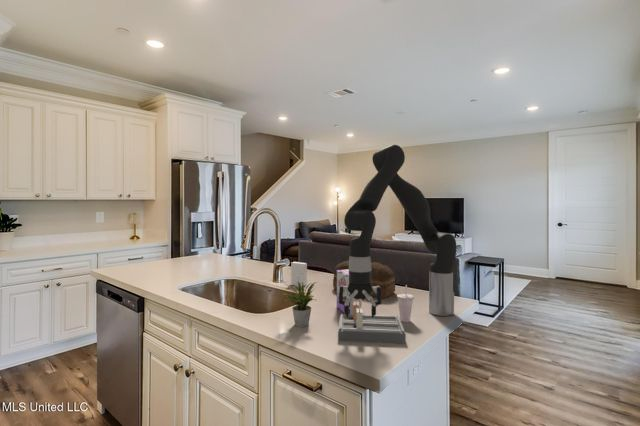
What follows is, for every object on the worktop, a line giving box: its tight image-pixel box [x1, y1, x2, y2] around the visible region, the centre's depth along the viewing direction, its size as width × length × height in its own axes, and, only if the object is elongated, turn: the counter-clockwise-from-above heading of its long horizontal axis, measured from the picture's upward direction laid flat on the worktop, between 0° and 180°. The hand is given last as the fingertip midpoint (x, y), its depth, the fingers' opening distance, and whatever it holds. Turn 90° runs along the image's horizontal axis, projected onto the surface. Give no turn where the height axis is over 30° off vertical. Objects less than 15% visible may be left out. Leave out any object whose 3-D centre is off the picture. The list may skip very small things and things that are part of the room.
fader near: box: [356, 308, 364, 329], centre depth 119 cm, size 2×4×6 cm, turn 175°
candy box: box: [336, 269, 363, 314], centre depth 146 cm, size 14×6×16 cm, turn 19°
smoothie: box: [396, 284, 415, 323], centre depth 135 cm, size 6×6×14 cm
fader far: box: [353, 301, 359, 320], centre depth 127 cm, size 2×4×6 cm, turn 175°
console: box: [337, 313, 407, 344], centre depth 123 cm, size 22×16×4 cm
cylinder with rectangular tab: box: [290, 261, 308, 287], centre depth 193 cm, size 9×9×12 cm
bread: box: [332, 260, 396, 299], centre depth 179 cm, size 15×32×16 cm, turn 55°
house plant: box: [280, 281, 318, 328], centre depth 132 cm, size 14×14×16 cm
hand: (359, 316), depth 119 cm, fingers open, 8 cm apart
